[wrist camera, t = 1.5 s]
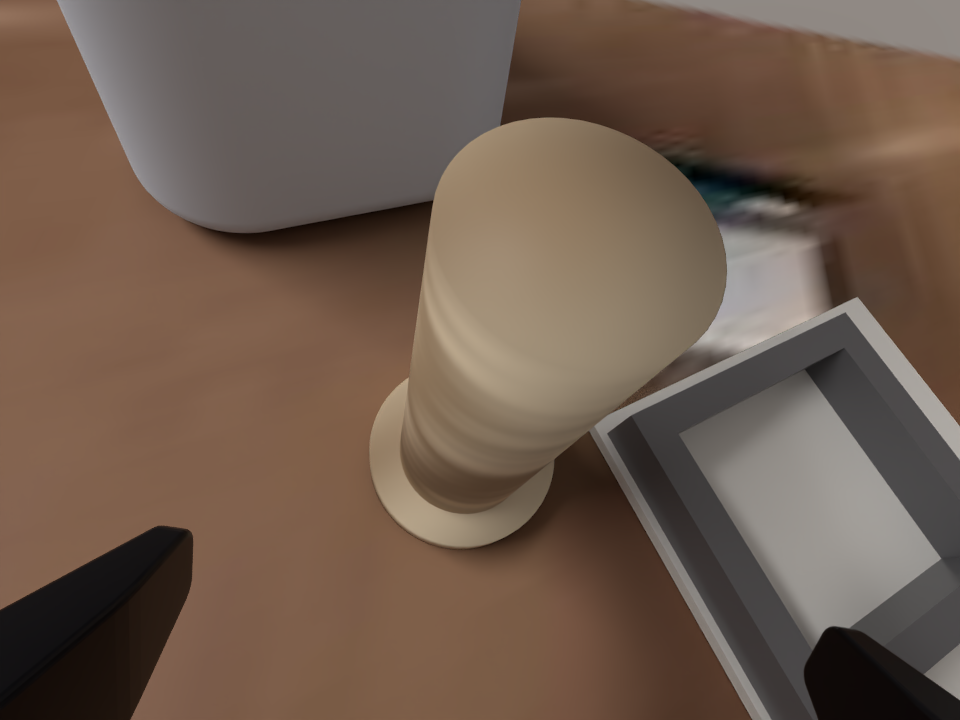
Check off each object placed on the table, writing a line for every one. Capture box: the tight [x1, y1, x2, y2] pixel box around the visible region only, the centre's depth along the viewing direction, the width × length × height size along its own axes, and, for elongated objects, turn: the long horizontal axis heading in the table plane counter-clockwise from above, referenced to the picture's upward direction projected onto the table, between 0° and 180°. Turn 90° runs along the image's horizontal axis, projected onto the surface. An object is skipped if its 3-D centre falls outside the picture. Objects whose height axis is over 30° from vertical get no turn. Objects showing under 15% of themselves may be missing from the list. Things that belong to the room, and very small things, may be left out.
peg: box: [369, 118, 727, 549], centre depth 14 cm, size 6×6×13 cm
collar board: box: [589, 297, 960, 720], centre depth 20 cm, size 18×15×3 cm
